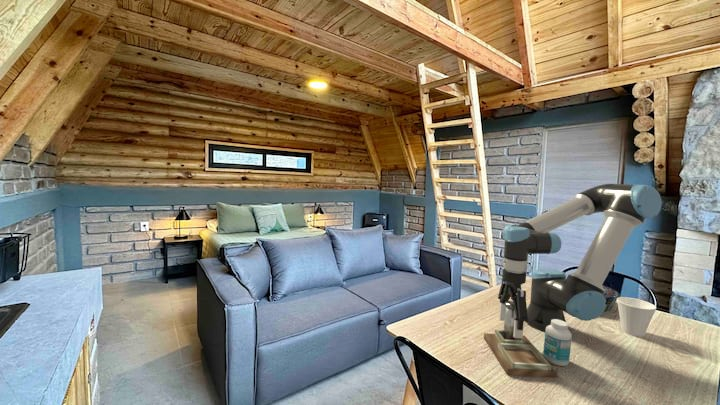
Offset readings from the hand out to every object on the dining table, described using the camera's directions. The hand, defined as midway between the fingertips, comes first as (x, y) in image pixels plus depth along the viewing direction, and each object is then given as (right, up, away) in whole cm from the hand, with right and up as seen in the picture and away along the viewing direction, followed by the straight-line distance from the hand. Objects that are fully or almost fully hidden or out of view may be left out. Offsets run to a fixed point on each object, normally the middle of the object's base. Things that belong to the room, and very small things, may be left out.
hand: (510, 328), depth 109 cm
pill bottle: (+12, -8, -7) cm, 16 cm away
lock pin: (0, -5, +1) cm, 5 cm away
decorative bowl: (+56, -5, +40) cm, 69 cm away
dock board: (-1, -7, -6) cm, 9 cm away
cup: (+56, -7, +13) cm, 58 cm away
